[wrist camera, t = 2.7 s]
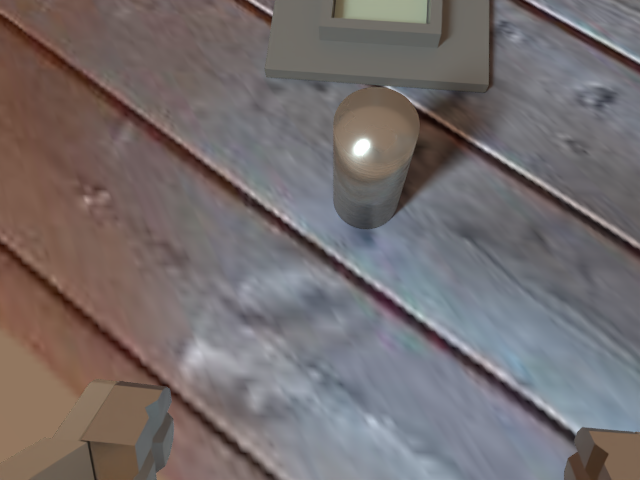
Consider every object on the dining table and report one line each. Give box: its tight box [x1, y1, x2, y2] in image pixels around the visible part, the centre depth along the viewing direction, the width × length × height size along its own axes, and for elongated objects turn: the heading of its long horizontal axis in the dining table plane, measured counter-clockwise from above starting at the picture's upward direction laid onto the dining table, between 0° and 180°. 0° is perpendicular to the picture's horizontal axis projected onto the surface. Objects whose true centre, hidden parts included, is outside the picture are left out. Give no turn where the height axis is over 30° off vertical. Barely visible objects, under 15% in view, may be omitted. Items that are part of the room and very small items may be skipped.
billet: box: [333, 87, 420, 229], centre depth 33 cm, size 4×4×10 cm
